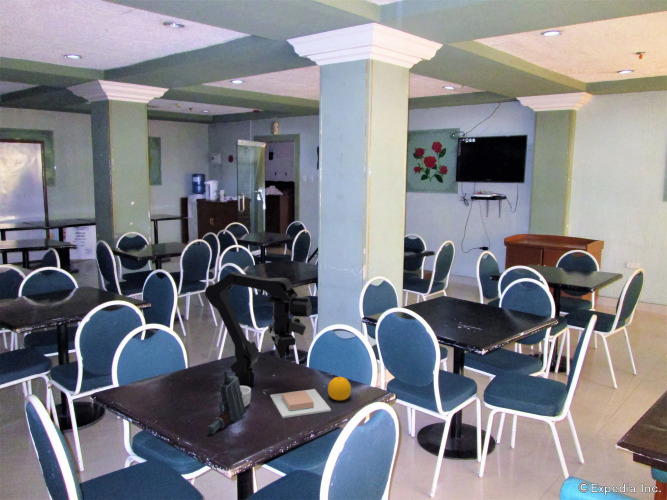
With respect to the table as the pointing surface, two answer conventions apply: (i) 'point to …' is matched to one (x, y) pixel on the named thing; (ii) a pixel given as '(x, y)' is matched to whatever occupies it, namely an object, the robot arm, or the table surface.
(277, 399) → the mat
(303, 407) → the tile
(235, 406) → the gun
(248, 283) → the robot arm
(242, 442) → the table surface
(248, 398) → the teacup
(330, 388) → the orange
